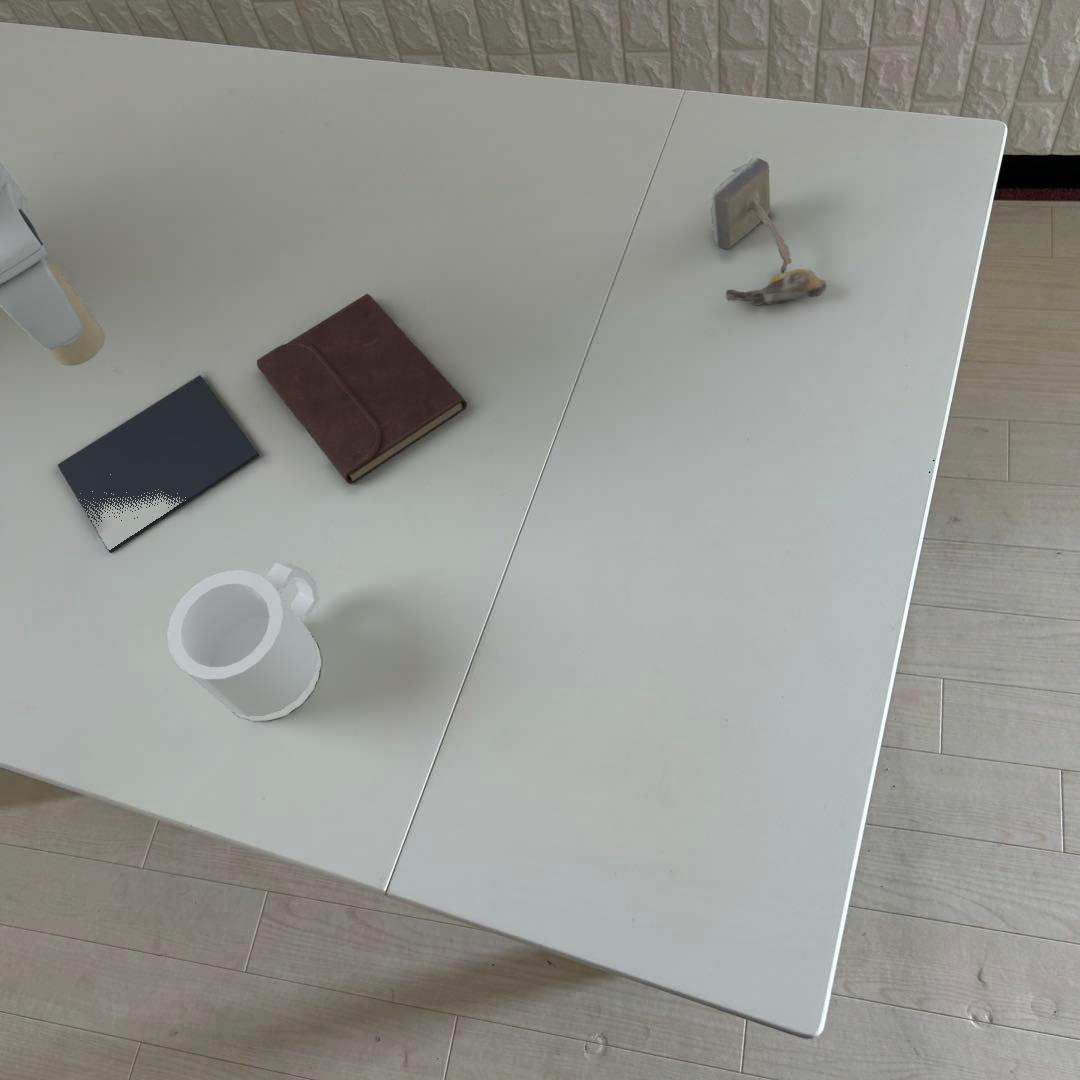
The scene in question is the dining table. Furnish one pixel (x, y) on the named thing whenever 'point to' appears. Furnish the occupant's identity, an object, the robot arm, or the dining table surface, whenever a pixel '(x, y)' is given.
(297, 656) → the mug
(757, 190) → the decorative sculpture
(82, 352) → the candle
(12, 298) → the robot arm
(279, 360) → the notebook
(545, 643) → the dining table surface
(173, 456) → the mat
